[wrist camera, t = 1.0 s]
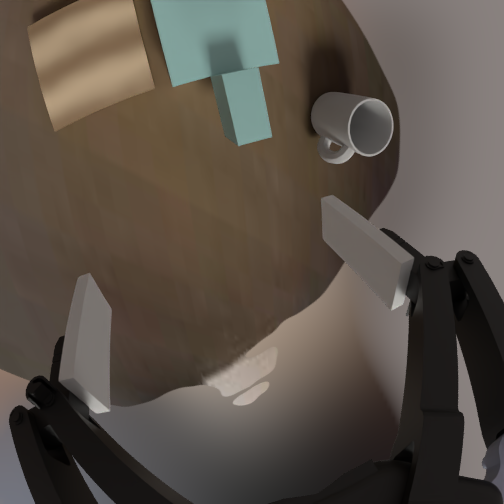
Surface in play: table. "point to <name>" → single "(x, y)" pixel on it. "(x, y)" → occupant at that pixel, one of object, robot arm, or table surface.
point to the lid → (221, 56)
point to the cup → (351, 125)
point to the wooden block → (89, 58)
